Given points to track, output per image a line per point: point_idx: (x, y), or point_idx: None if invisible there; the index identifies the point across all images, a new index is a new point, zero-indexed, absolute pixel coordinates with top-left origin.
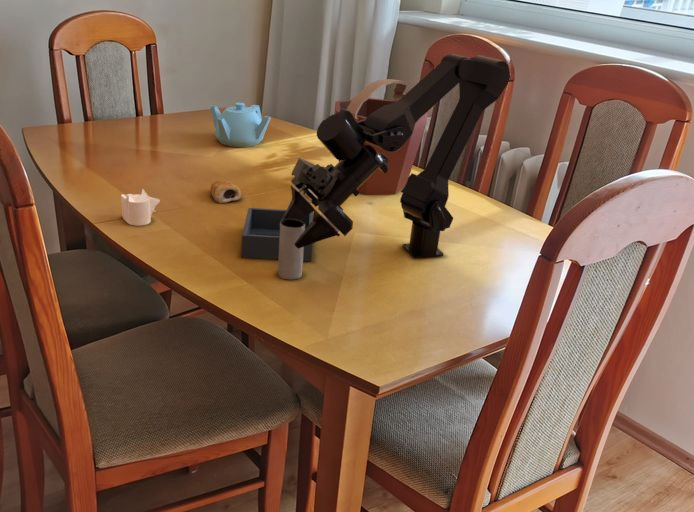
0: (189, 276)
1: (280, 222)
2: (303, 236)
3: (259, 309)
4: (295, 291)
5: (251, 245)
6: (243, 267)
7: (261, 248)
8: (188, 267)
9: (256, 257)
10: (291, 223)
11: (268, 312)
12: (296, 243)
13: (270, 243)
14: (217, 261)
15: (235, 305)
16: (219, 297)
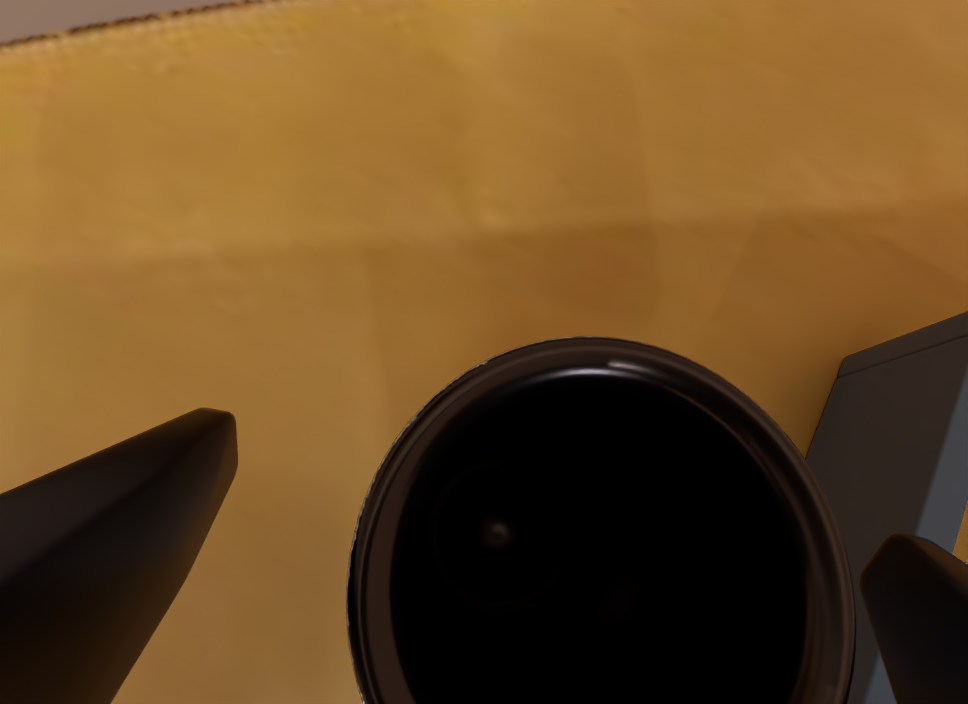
0: (670, 19)
1: (698, 364)
2: (4, 493)
3: (159, 145)
4: (254, 441)
5: (894, 389)
6: (702, 304)
7: (856, 461)
8: (777, 55)
9: (815, 437)
10: (753, 642)
11: (100, 169)
12: (176, 419)
13: (869, 525)
14: (819, 208)
15: (267, 66)
16: (388, 40)
